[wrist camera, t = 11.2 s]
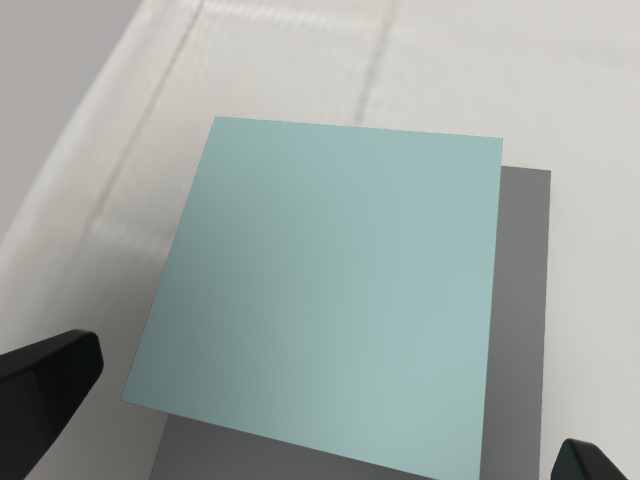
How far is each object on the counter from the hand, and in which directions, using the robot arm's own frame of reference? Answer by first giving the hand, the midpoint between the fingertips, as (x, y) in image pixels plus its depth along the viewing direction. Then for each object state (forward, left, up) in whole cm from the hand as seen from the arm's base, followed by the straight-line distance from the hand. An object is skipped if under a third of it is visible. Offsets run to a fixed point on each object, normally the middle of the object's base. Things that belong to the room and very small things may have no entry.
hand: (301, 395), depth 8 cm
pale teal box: (+2, 0, -8) cm, 8 cm away
